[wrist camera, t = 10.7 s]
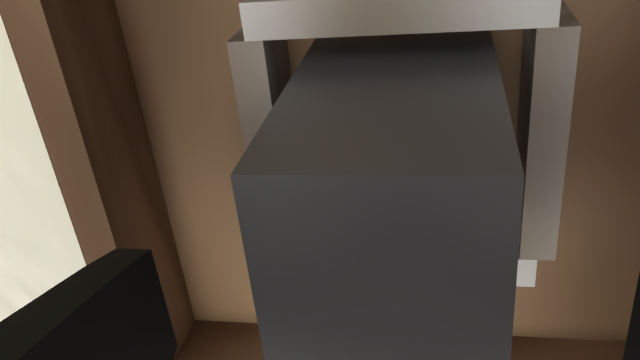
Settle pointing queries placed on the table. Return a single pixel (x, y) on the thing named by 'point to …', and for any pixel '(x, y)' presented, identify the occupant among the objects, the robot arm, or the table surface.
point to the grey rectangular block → (385, 203)
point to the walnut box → (260, 96)
